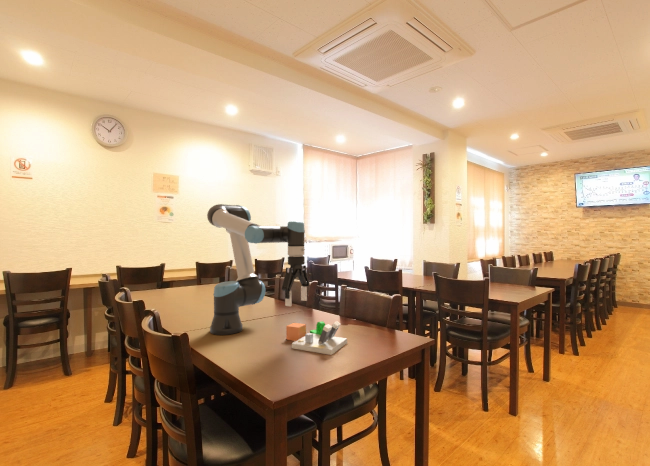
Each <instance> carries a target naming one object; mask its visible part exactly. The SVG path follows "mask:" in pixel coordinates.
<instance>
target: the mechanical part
mask: <svg viewBox="0 0 650 466" xmlns="http://www.w3.org/2000/svg"><path fill="white" fill-rule="evenodd" d="M325 325H326V323H325V322H324V320H323V321H317V323H316V329H311V330H309V333H313V334H319V335H321V333H322V331H323V328H324V326H325Z"/></svg>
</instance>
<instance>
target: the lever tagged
mask: <svg viewBox="0 0 650 466" xmlns="http://www.w3.org/2000/svg"><path fill="white" fill-rule="evenodd" d="M331 329H332V325H331V324H329V323H327V324H325V326H324V328H323V331H322V333H321V336H320V338H319V341H318V344H319V345H321V344H323V343H325V342H326V341H327V338H328V336H329V333H330V331H331Z"/></svg>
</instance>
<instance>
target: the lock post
mask: <svg viewBox="0 0 650 466" xmlns="http://www.w3.org/2000/svg"><path fill="white" fill-rule="evenodd" d="M305 343H309V344H311V343H313V334H312V333H310V332H306V334H305Z"/></svg>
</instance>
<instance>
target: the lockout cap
mask: <svg viewBox="0 0 650 466" xmlns="http://www.w3.org/2000/svg"><path fill="white" fill-rule="evenodd" d="M285 327H286V328H285V329H286V331H285V333H286V335H285V336H286V339H285V340H287V341H293V342H295V341H297V340H299V339H301V338H302V337H304V336H305V334H307V324H305V323H300V322H299V323H298V322H293V323H290V324H288V325H286V326H285Z"/></svg>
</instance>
